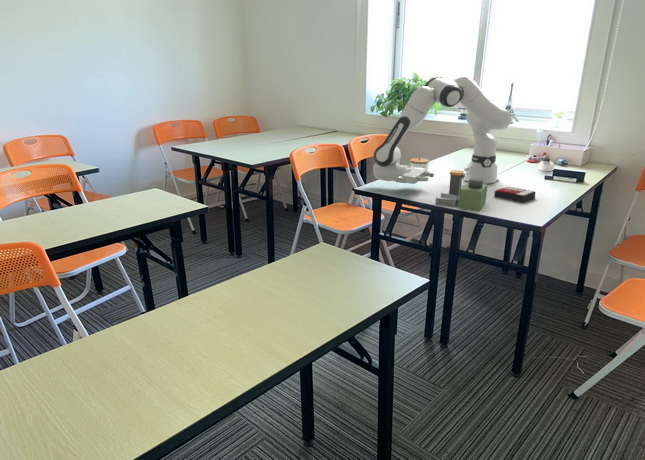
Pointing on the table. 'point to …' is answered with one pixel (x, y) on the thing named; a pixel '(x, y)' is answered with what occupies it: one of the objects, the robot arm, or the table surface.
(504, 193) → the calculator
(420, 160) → the lidded jar
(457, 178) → the grey orange-topped box
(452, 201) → the bracket
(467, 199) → the green box
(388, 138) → the robot arm
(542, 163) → the inkwell
